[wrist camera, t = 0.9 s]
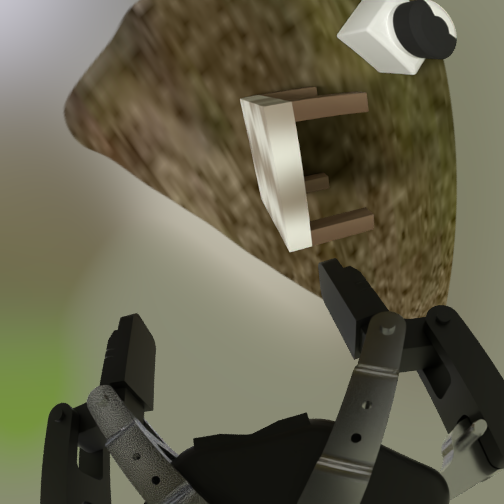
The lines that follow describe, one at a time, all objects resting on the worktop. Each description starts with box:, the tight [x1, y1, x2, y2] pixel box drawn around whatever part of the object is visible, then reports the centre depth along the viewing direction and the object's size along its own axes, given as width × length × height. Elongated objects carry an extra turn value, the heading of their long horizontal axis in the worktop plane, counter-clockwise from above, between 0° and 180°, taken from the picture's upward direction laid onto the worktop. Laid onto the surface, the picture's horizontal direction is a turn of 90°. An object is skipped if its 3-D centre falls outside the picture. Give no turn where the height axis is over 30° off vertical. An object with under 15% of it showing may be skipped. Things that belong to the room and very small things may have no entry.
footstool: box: [240, 87, 374, 252], centre depth 27 cm, size 12×8×12 cm, turn 12°
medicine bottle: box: [337, 0, 457, 75], centre depth 21 cm, size 7×7×12 cm
